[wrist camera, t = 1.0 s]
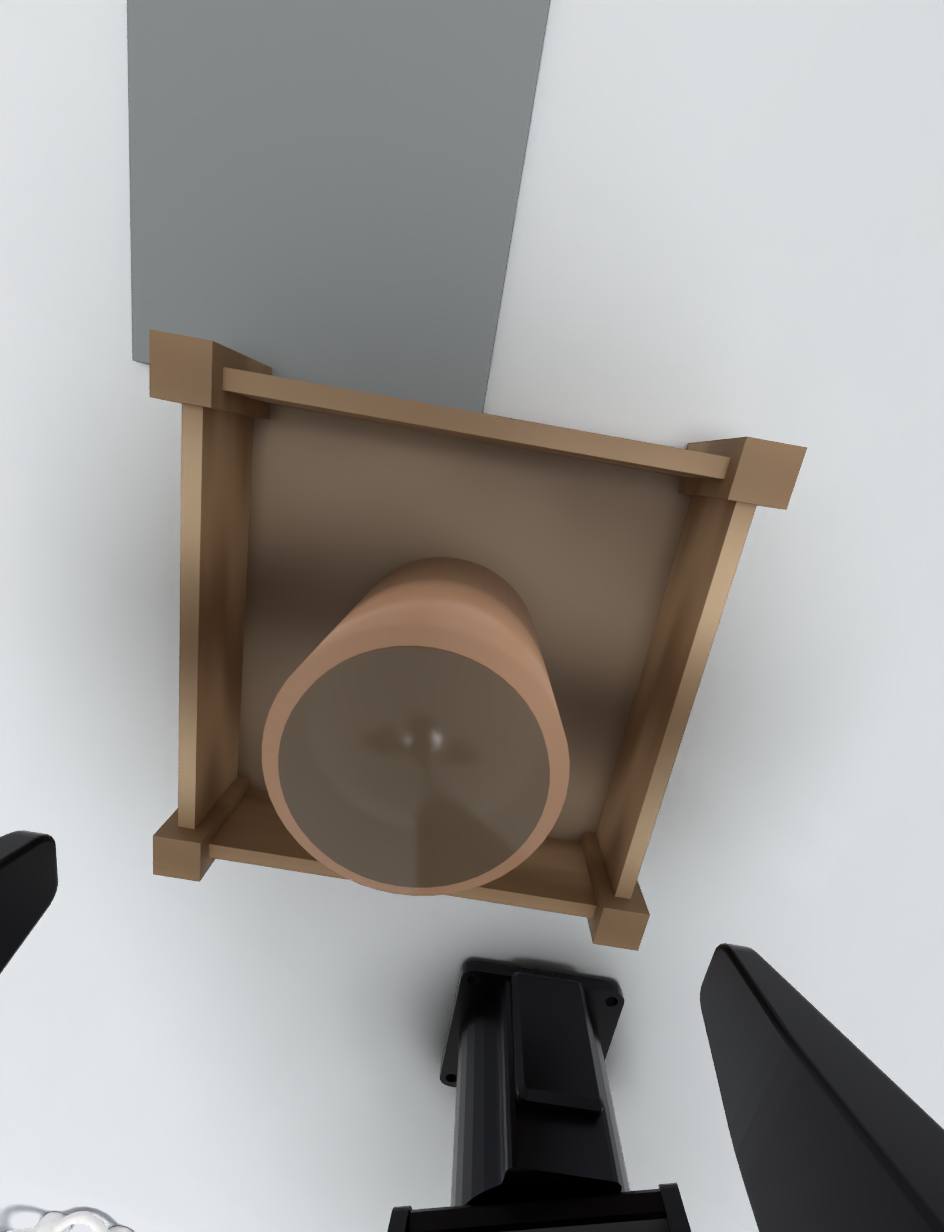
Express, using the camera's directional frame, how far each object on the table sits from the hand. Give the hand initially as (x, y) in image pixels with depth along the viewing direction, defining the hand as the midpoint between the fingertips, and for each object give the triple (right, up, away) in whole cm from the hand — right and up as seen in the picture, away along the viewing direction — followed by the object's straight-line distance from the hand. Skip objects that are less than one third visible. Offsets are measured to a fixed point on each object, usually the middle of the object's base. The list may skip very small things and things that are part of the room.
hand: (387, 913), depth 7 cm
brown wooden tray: (0, +3, +10) cm, 11 cm away
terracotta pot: (0, +3, +10) cm, 10 cm away
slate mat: (-3, +15, +7) cm, 17 cm away
